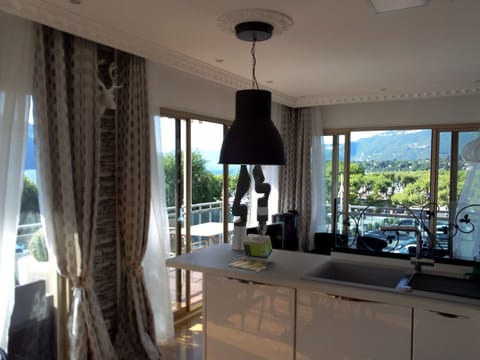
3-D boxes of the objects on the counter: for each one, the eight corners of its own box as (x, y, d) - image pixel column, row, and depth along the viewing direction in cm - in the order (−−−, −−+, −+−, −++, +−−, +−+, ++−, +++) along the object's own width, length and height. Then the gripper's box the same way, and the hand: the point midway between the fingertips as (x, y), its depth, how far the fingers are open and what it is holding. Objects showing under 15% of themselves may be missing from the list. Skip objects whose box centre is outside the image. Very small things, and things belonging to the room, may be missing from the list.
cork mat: (227, 266, 241) (227, 263, 241) (241, 261, 255) (241, 258, 255) (253, 270, 232) (254, 267, 232) (266, 265, 245) (266, 262, 245)
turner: (259, 272, 228) (259, 270, 228) (253, 271, 230) (253, 269, 230) (272, 266, 242) (272, 264, 242) (267, 265, 244) (267, 263, 244)
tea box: (273, 254, 257) (270, 235, 251) (267, 263, 249) (264, 243, 243) (252, 252, 264) (248, 232, 258) (246, 260, 256) (242, 241, 250)
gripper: (262, 212, 264) (261, 238, 265) (252, 214, 253) (252, 241, 253) (272, 213, 261) (272, 239, 261) (262, 215, 249) (262, 242, 250)
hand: (262, 240), depth 257 cm, fingers closed
